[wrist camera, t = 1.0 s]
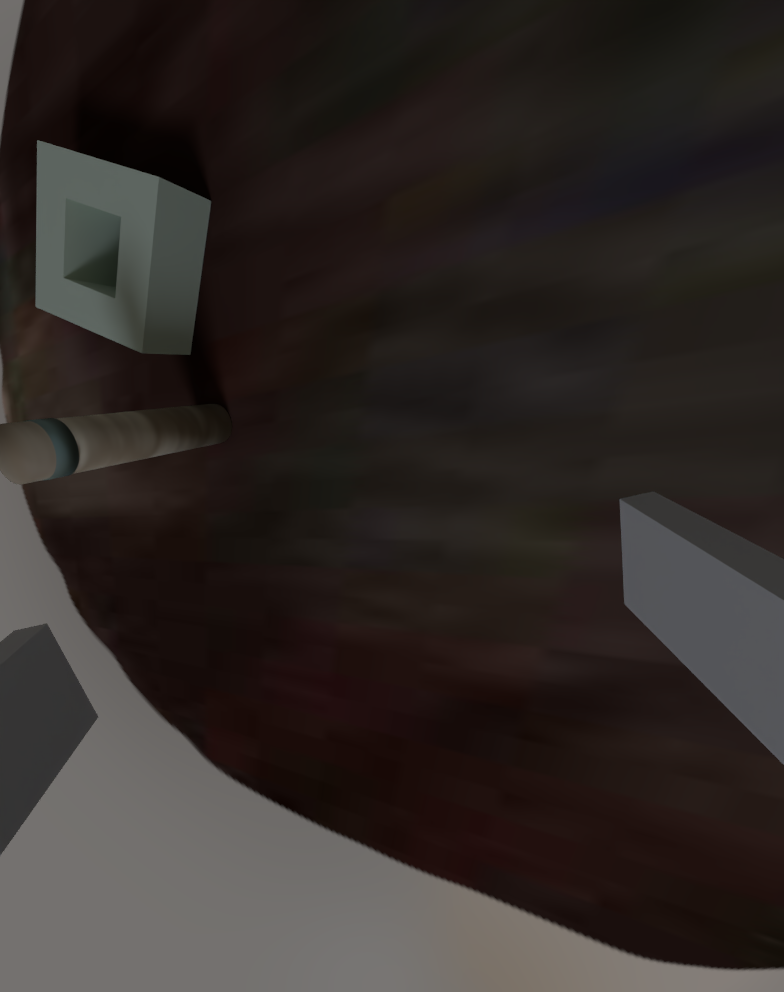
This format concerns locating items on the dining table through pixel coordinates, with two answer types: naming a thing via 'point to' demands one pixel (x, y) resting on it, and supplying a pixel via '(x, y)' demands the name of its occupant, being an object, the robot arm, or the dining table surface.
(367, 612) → the dining table surface
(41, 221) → the grey square-hole block
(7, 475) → the tan cylinder
